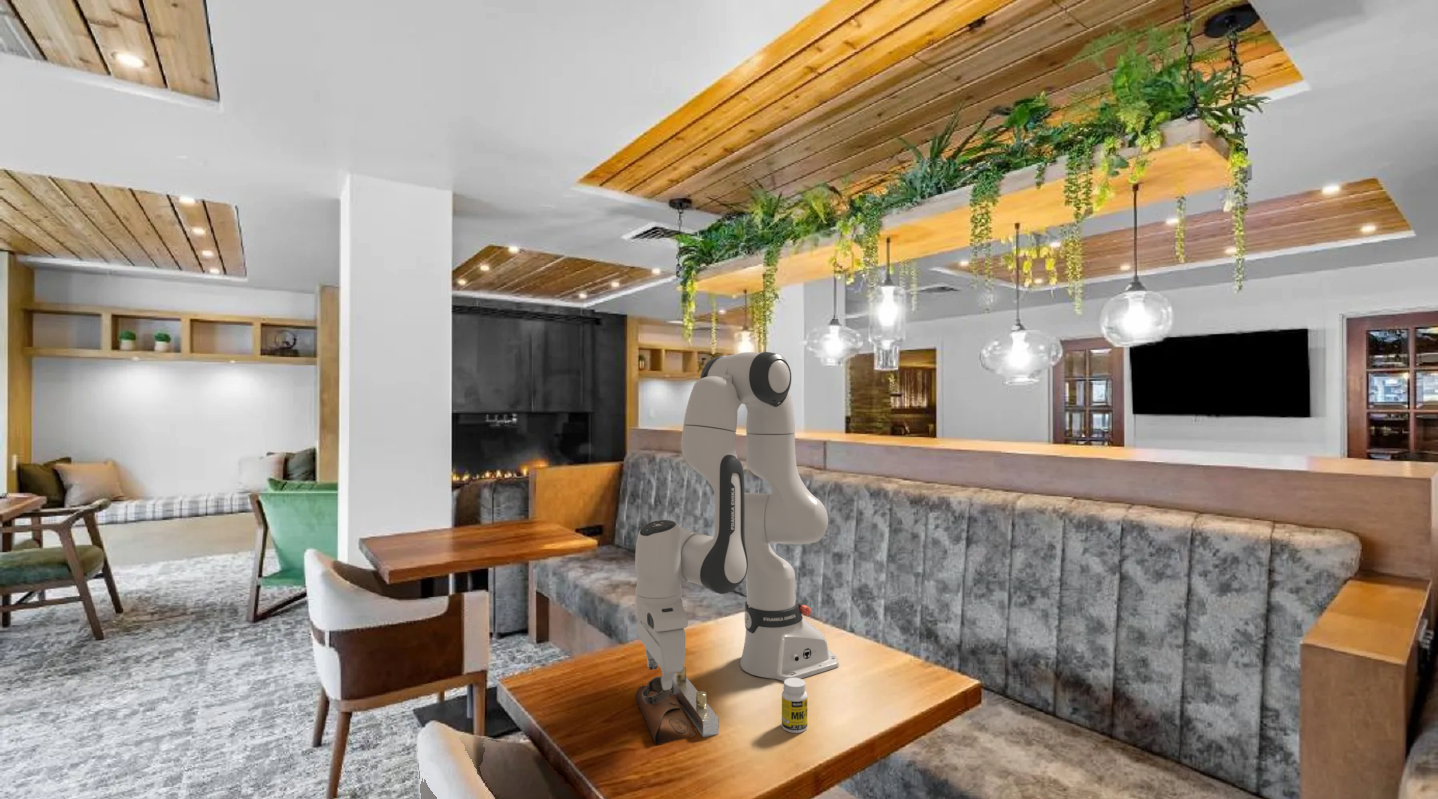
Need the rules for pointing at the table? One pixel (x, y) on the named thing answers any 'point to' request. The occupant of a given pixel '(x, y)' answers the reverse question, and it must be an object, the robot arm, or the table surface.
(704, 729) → the white board with knobs
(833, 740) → the table surface
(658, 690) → the wristwatch
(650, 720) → the sunglasses case
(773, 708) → the table surface
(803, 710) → the supplement bottle
